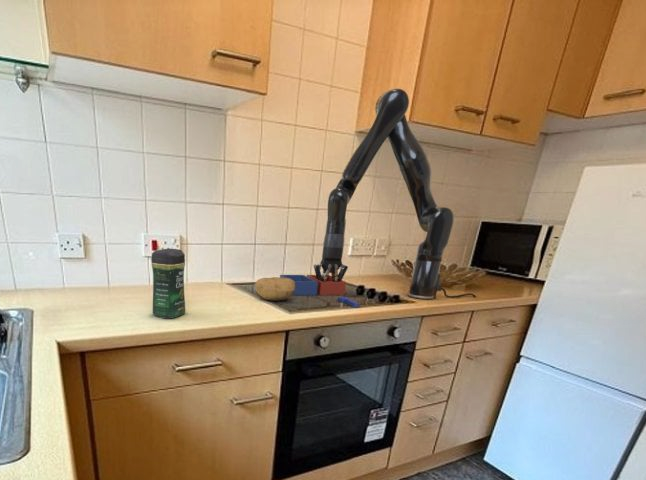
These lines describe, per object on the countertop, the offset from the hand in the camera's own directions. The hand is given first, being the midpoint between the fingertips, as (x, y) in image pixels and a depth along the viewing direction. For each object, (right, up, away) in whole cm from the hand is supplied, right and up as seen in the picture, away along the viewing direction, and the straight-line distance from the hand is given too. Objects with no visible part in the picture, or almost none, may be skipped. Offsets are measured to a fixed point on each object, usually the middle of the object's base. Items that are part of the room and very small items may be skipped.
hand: (327, 291), depth 159 cm
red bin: (-1, +1, +3) cm, 3 cm away
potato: (-22, -7, -17) cm, 29 cm away
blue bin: (-12, 0, 0) cm, 12 cm away
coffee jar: (-54, -15, -41) cm, 70 cm away
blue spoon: (+4, -7, -16) cm, 18 cm away
